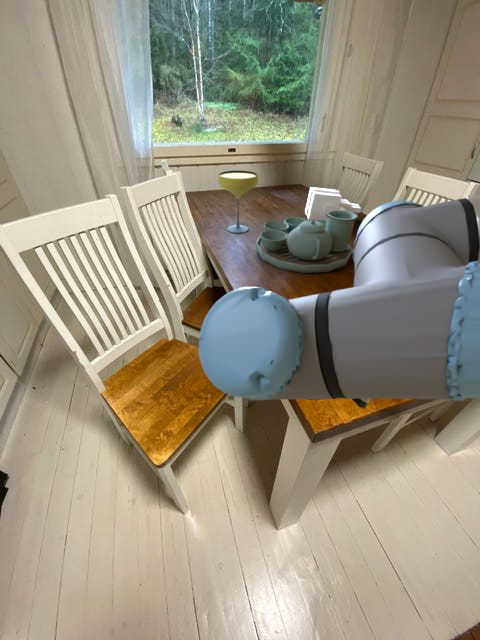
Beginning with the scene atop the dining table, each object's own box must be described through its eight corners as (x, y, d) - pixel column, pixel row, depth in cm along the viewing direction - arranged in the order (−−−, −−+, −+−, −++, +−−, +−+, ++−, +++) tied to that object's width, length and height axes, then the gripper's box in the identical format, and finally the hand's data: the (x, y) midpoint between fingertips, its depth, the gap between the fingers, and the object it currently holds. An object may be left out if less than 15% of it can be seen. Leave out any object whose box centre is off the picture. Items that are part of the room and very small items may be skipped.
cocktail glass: (246, 221, 147) (248, 169, 132) (261, 233, 134) (265, 176, 119) (215, 225, 142) (212, 171, 126) (227, 238, 129) (226, 180, 113)
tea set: (310, 229, 138) (316, 195, 128) (370, 262, 110) (384, 221, 100) (240, 242, 125) (240, 205, 115) (288, 284, 97) (294, 239, 87)
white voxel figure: (360, 230, 144) (308, 224, 143) (348, 214, 163) (301, 209, 162) (371, 200, 134) (315, 194, 134) (356, 188, 154) (307, 182, 153)
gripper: (247, 360, 34) (305, 375, 53) (342, 433, 26) (369, 420, 46) (279, 309, 33) (326, 343, 53) (384, 368, 26) (393, 382, 45)
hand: (346, 379), depth 49 cm, fingers closed
